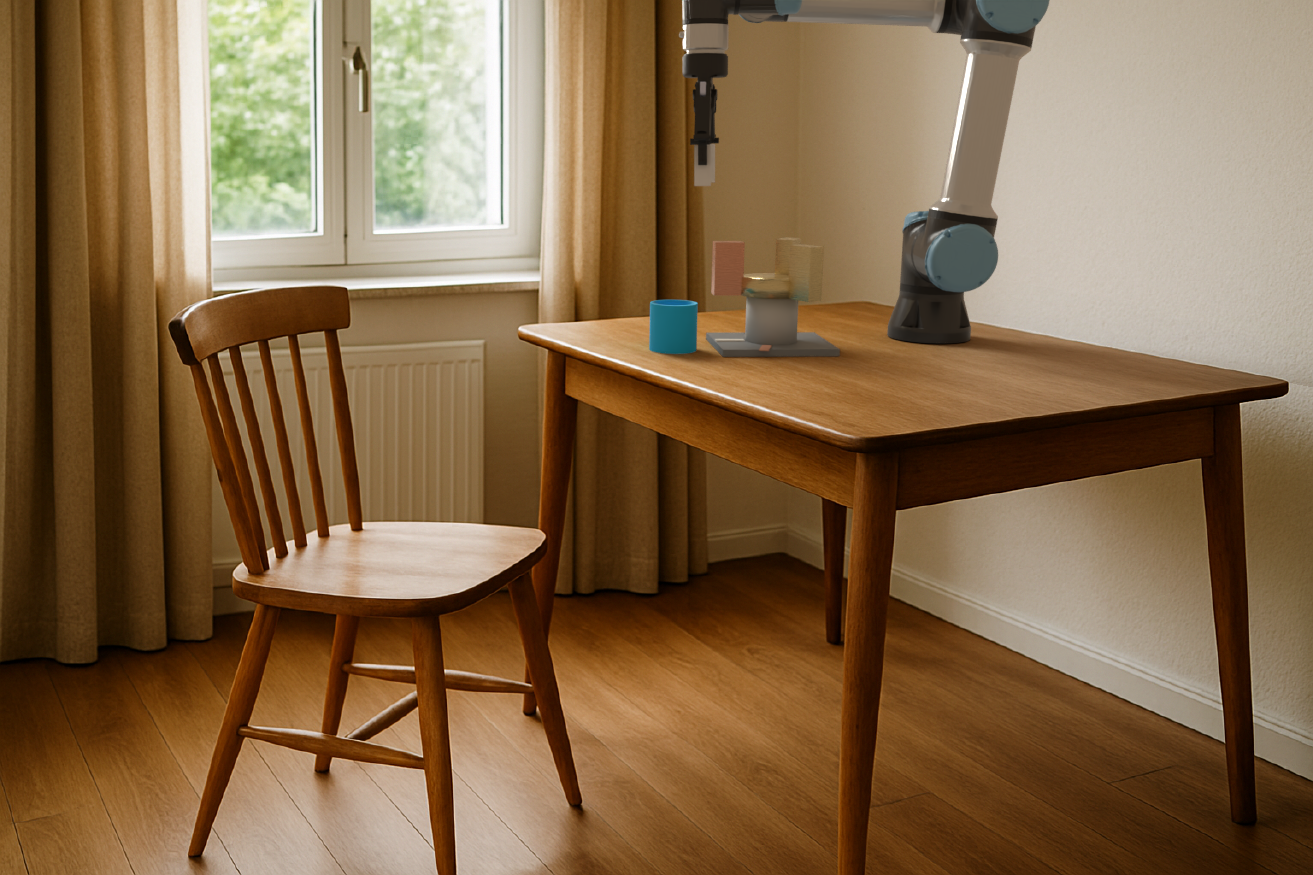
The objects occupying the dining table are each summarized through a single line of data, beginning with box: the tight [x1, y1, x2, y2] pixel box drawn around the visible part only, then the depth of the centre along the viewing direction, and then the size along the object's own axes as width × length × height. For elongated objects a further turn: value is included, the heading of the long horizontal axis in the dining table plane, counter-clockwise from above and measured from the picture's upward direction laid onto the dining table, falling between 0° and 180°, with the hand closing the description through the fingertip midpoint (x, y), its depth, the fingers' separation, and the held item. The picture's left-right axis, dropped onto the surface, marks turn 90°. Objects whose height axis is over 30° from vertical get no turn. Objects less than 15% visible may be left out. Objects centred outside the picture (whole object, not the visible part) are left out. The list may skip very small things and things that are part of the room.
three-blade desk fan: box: [710, 236, 825, 303], centre depth 215 cm, size 17×20×9 cm
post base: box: [705, 297, 841, 358], centre depth 217 cm, size 20×20×9 cm
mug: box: [648, 299, 699, 355], centre depth 216 cm, size 12×8×8 cm
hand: (705, 184), depth 211 cm, fingers open, 13 cm apart
